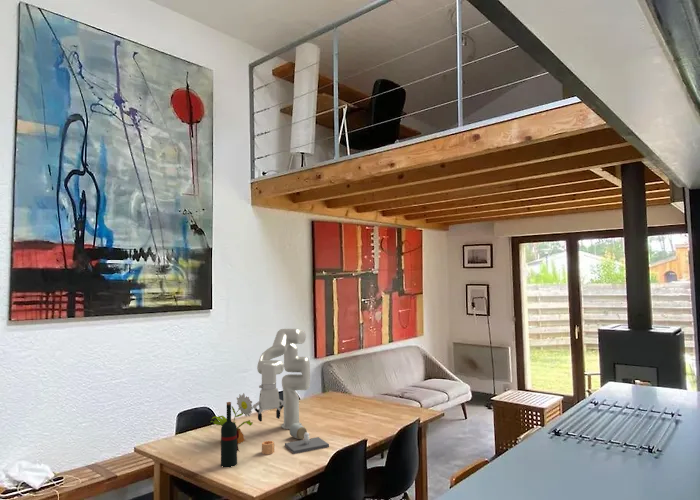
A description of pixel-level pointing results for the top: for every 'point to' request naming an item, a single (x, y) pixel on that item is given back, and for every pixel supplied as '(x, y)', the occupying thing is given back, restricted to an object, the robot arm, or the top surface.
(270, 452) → the collar
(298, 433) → the ceramic mug
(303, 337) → the robot arm
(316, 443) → the post base
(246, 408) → the decorative plant
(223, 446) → the wine bottle
